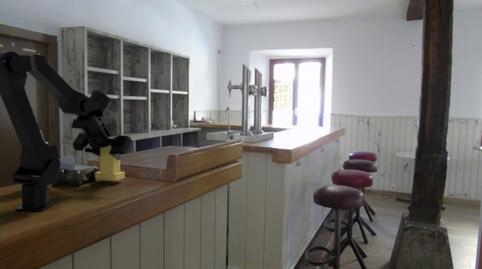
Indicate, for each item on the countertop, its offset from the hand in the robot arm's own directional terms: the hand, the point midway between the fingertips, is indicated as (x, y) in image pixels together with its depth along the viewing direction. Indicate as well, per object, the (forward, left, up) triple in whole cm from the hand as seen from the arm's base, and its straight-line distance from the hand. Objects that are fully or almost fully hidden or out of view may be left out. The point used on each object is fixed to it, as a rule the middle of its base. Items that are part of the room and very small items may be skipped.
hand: (112, 158), depth 119 cm
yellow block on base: (-1, 0, -7) cm, 7 cm away
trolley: (-2, +11, -8) cm, 14 cm away
